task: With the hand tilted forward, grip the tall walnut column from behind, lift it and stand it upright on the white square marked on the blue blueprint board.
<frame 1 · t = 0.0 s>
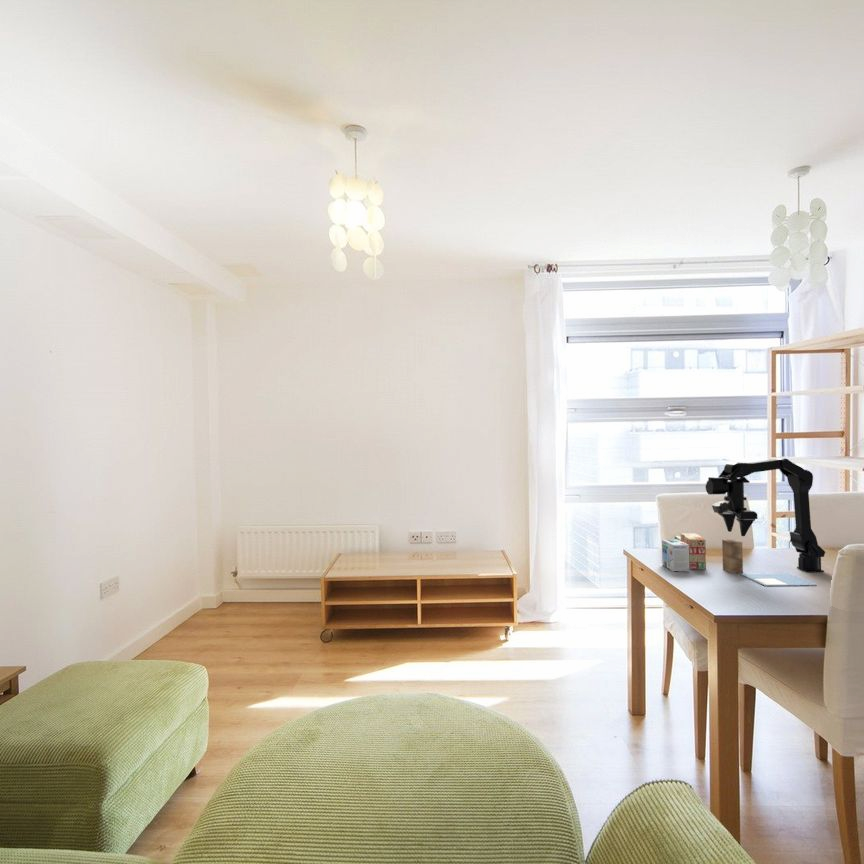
hand: (736, 533, 199), 15 cm above the table, tool pointing down, fingers open, 9 cm apart
blueprint board: (776, 580, 187), on the table
stack of blocks: (689, 563, 214), on the table
walnut column: (732, 571, 199), on the table
light bulb box: (675, 569, 205), on the table
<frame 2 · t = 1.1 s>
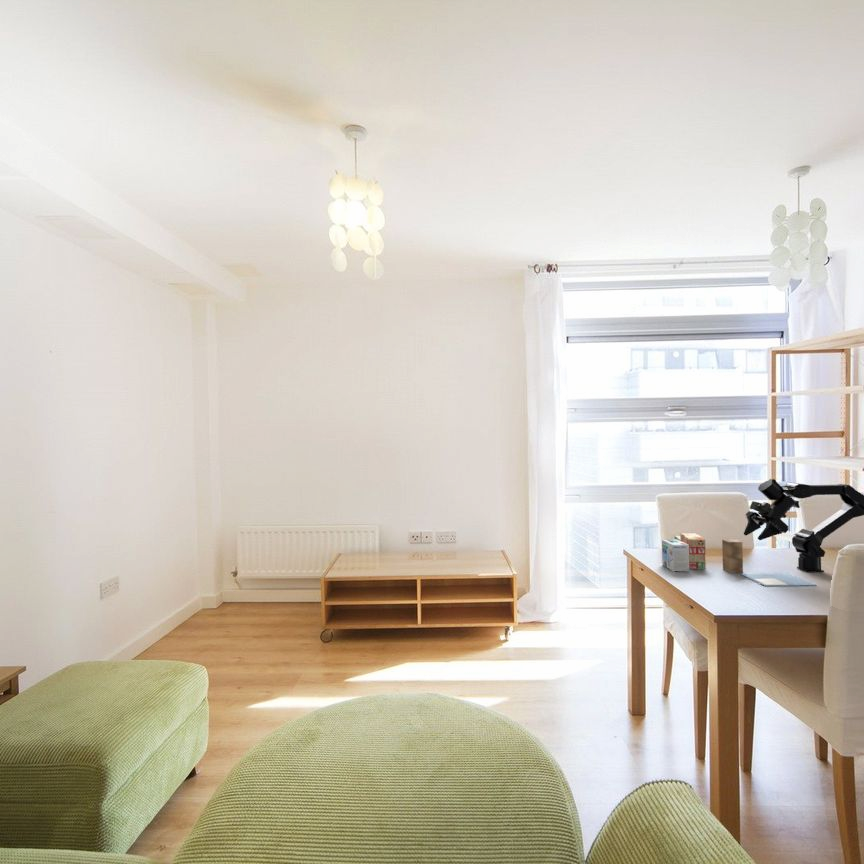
hand: (751, 537, 199), 13 cm above the table, tool tilted 45°, fingers open, 9 cm apart
nothing on the table moved.
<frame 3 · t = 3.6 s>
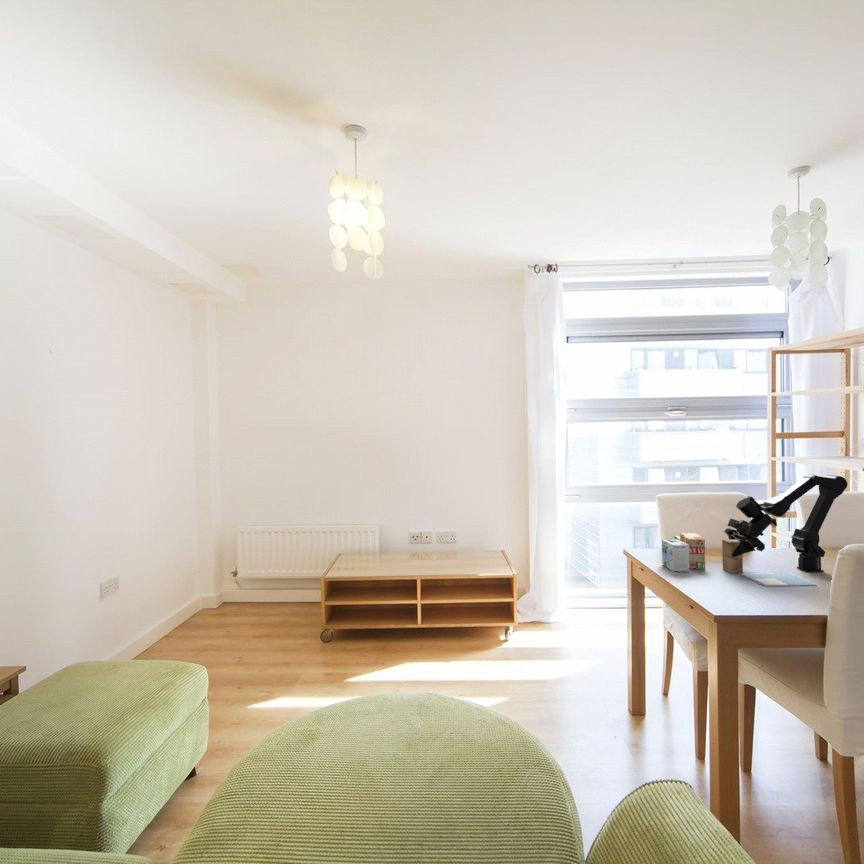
hand: (728, 554, 199), 7 cm above the table, tool tilted 45°, fingers closed on walnut column, 5 cm apart
walnut column: (732, 571, 199), on the table, touching gripper
everything else where it was.
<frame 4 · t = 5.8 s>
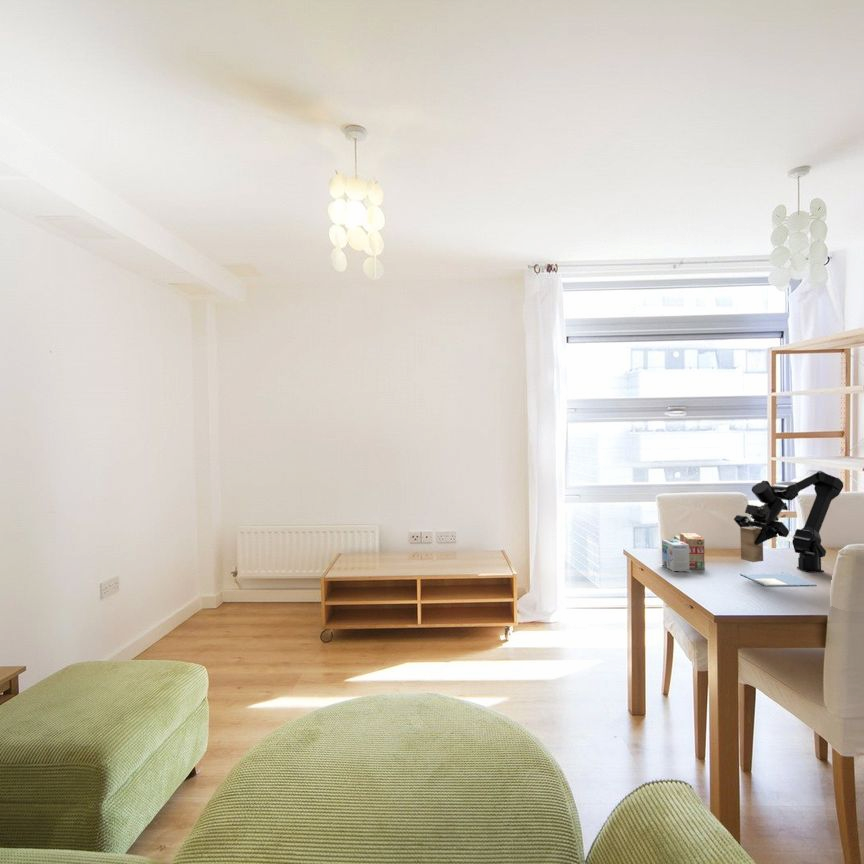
hand: (748, 542, 189), 13 cm above the table, tool tilted 45°, fingers closed on walnut column, 5 cm apart
walnut column: (752, 560, 189), point 7 cm above the table, touching gripper
everything else where it was.
when the fingers open (8 cm above the table, at t = 8.0 s): walnut column drops 1 cm, resting on blueprint board.
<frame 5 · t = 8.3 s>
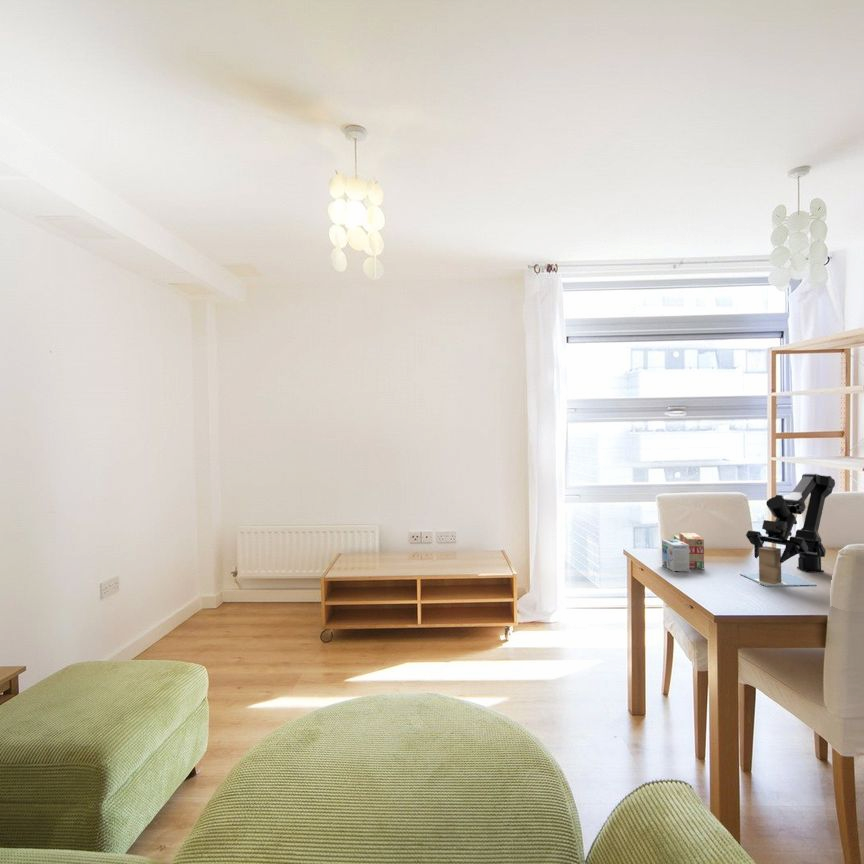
hand: (767, 559, 183), 9 cm above the table, tool tilted 45°, fingers open, 8 cm apart
walnut column: (770, 581, 183), point 1 cm above the table, touching blueprint board
everything else where it was.
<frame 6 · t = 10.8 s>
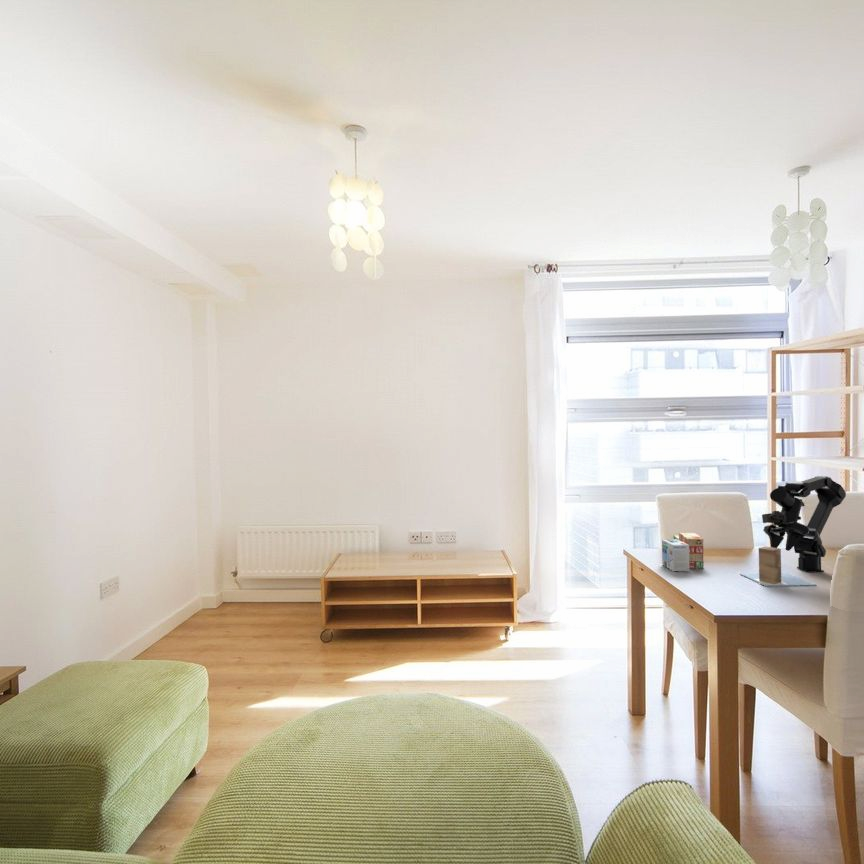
hand: (779, 550, 190), 10 cm above the table, tool tilted 30°, fingers open, 9 cm apart
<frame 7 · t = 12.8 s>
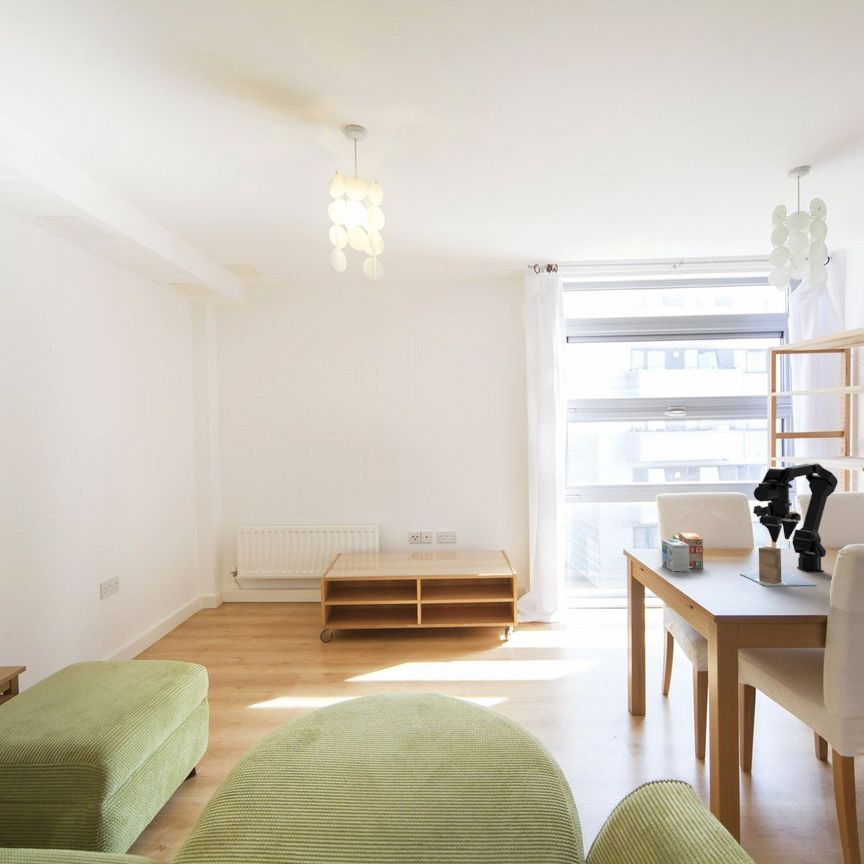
hand: (780, 540, 193), 13 cm above the table, tool pointing down, fingers open, 9 cm apart
at the end: walnut column 0.0 cm from the target spot on the blueprint board, point 0.5 cm above the blueprint board's base; walnut column tilted 0°; the gripper is holding nothing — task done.
